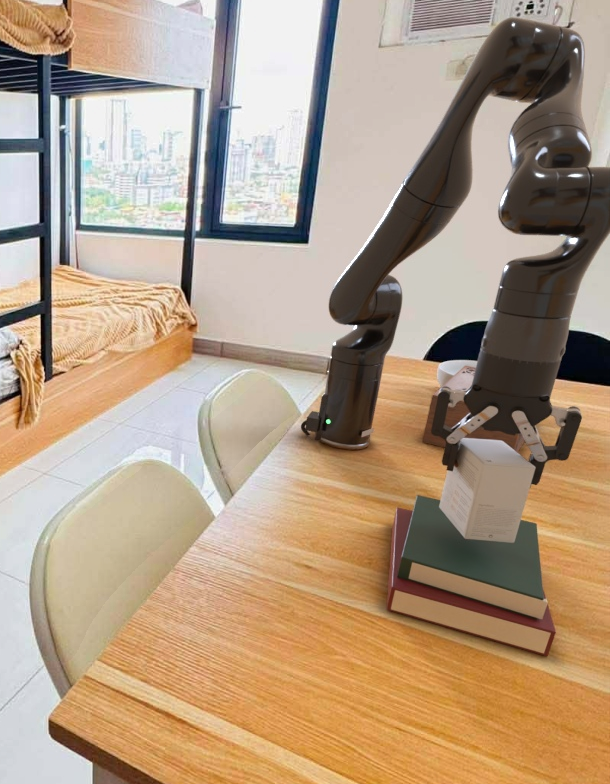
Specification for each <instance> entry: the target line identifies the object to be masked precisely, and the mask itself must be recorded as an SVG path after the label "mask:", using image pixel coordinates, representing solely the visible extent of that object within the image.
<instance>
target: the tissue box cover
mask: <svg viewBox="0 0 610 784" xmlns="http://www.w3.org/2000/svg"><path fill="white" fill-rule="evenodd" d="M475 369H476V367H471V366H464V367H463V368H462V369H461V370H460V371H458V372H457V373H456V374H455V375H454V376H453V377H452V378H451V379H450V380H448V381H447V382H446V383H445V384H444V385H443V386H442V387H444V386H447V387H449V388H450V389H451V390H457V391H463V392H466V391H467V390H468V389H469V388H470V387H471V385H472V382H473V378H474V374H475ZM442 387H441V386H440V387H439V388H438V389H437V390H436V391H434V393H433V394H432V395H431V399H430V405H429V408H428V413H427V418H426V422H425V426H424V431H423V435H422V440H421V443H426V444H428V445H429V444H430V445H434V446H437V447H440V448H445V445H446V442H445V440H444V439H443V438H441V437H439V436H434V435H432V433H431V428H432V423H433V419H434V414H435V409H436V404H437V399H438V394H439V391H440V389H441V388H442ZM469 413H470V411H469V410H468V408H467V406H466V405H465V403H464V401H459V402H457V404H456V406H455V407H452V408H449V407H448V409H447V414H446V419H445V424H444V425H446V426H448V427H450V428H453V427H454V426H455V425H457V424H458V423H459V422H460V421H461V420H462V419H463V418H464V417H465V416H467V415H468V414H469ZM483 429H484V428H482V427H480V426H479V427H478V428H477V429H476V430H474V431H473V432H472V433H470V434H468V435H466V436H465V437H464V438H474V439H489V440H501V441H503V442H505V443H506V444H507V445H508V446H510V447H511V448H512V449H514V450H515V451H516V452H517V453H519V451H520V449H521V448H522V446H523V444H524V443H525V440H524V438H523V436H522V434H515V436H514V435H509V434H505V433H503V432H501V431H487V430H483Z"/></svg>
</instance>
